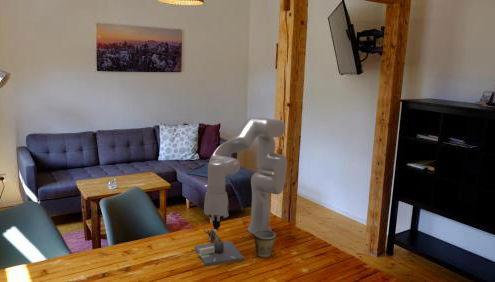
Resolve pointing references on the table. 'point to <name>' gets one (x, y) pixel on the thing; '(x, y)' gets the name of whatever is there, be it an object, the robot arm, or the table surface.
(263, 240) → the ceramic cup
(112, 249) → the table surface
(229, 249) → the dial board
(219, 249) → the peg
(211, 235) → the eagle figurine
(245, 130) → the robot arm
